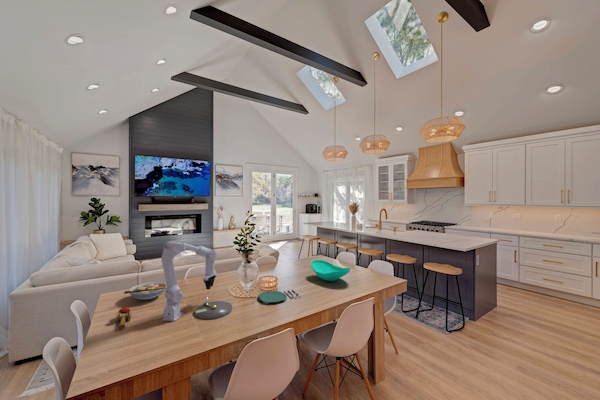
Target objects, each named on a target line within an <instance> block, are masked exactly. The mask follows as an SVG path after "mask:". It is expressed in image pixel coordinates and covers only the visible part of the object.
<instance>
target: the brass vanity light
mask: <svg viewBox="0 0 600 400" xmlns="http://www.w3.org/2000/svg"><path fill="white" fill-rule="evenodd" d="M203 300H204V301H203V303H202V304H203V305H204V306H208V307H211V309H216V308H217V305H209V304H208V302H209V297H208V296H206V297H205V296H204V299H203Z"/></svg>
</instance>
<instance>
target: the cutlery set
mask: <svg viewBox="0 0 600 400" xmlns="http://www.w3.org/2000/svg"><path fill="white" fill-rule="evenodd" d="M291 291H292V292H293V293H294V292H295V293H296V294H295V293H294V294H295V295H300V293H298V292H296V291H295V290H294V289H291ZM291 291H290V290H289V289H288V290H287V292H288V293H287V292H286V290H283V292H284V293H283V292H282V291H279V290H272V291H264V292H261V293H259V294H258V296H257V298H258V300H259V301H260V302H262V303H264V305H268V304H277V303H281V302H283V301H284V302H285V301H286V300H287V299H288V298H290V299H291V300H293V299H294V298H293V297H294V296H293V295H294V294H293V293H292V292H291ZM290 294H291V296H290ZM287 296H288V297H287Z"/></svg>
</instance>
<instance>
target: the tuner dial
mask: <svg viewBox="0 0 600 400" xmlns="http://www.w3.org/2000/svg"><path fill="white" fill-rule="evenodd" d="M208 304H209V305H217V308H216V309H211V307H208V306H204V305H203V303H202V304H200V305H198V306H196V307H195V309H194V316H195V317H196V318H198V319H199V320H200V319H201V320H216V319H221V318H224V317H226V316H229V314H231V312H232V311H233V305H232V303H230V302H228V301H224V300H214V301H208Z"/></svg>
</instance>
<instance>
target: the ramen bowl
mask: <svg viewBox="0 0 600 400" xmlns="http://www.w3.org/2000/svg"><path fill="white" fill-rule="evenodd" d="M166 287H167V284H166V282H163V281H161V282H160V281H151V282H145V283H140V284H137V285H134V286H132V287H130V288H129V290H127V291H125V290H124V292H123V293H124V294H130V295H131V296H132V298H134V299H136V300H143V301H149V300H153V299H156V298H157V297H159V296H160V295H162V294H163V293H164V292H165V291H166ZM124 294H123V295H124Z"/></svg>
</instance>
